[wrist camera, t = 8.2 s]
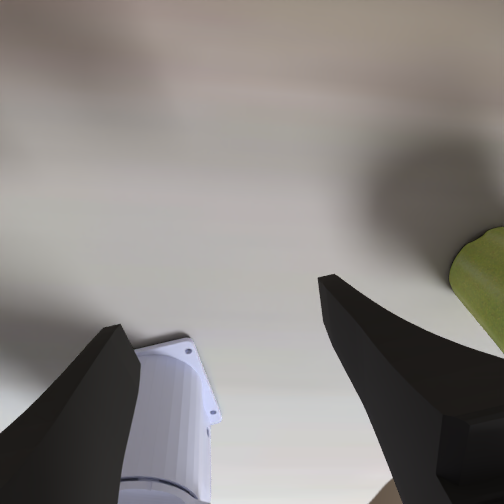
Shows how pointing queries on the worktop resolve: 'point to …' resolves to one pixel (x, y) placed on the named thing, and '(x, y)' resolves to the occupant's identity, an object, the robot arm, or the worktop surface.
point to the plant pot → (482, 282)
